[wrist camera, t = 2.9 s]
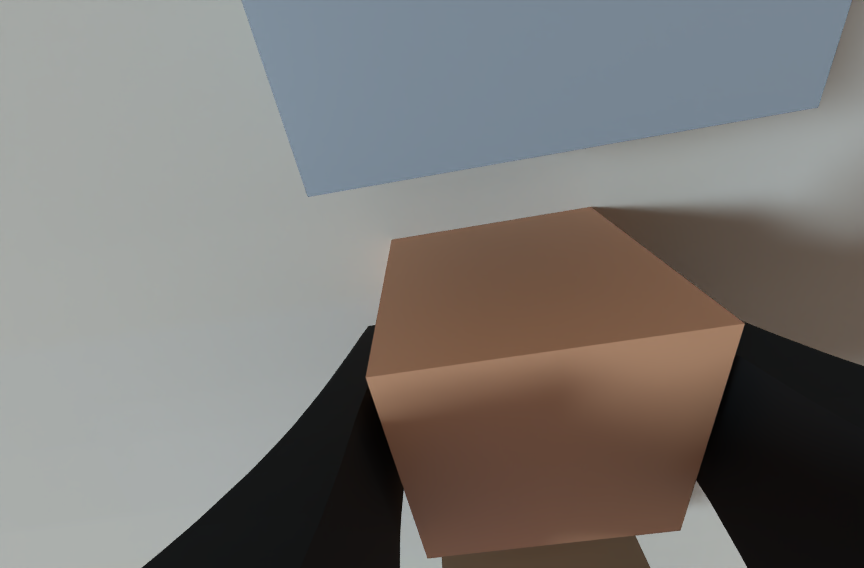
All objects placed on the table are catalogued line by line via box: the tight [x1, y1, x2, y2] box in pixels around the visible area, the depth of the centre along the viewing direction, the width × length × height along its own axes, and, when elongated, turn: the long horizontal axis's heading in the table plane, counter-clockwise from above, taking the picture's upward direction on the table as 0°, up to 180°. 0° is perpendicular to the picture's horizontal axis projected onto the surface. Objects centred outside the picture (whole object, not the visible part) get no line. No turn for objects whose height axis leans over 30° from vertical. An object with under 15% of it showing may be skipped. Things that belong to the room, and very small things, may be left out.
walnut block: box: [442, 536, 650, 568], centre depth 12 cm, size 5×5×5 cm
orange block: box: [366, 207, 745, 558], centre depth 8 cm, size 5×5×5 cm
